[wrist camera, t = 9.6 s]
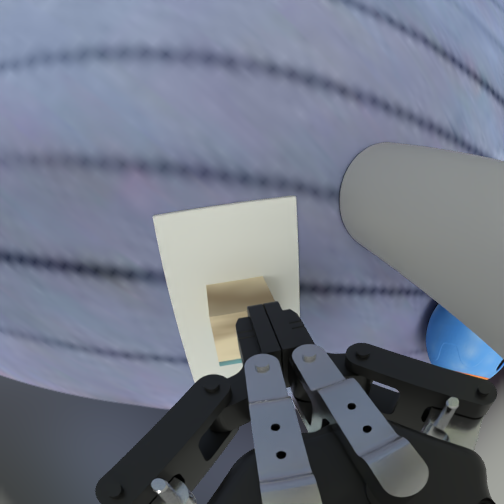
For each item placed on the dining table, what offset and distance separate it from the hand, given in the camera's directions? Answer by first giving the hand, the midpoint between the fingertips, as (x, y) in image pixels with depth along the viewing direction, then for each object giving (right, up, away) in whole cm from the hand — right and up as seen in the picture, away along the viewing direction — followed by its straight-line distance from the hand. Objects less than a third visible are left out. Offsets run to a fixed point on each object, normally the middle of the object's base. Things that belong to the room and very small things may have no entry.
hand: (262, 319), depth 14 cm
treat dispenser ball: (+31, -6, +27) cm, 42 cm away
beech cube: (-2, -1, +14) cm, 14 cm away
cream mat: (-2, -3, +19) cm, 19 cm away
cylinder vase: (+15, +10, +17) cm, 25 cm away
